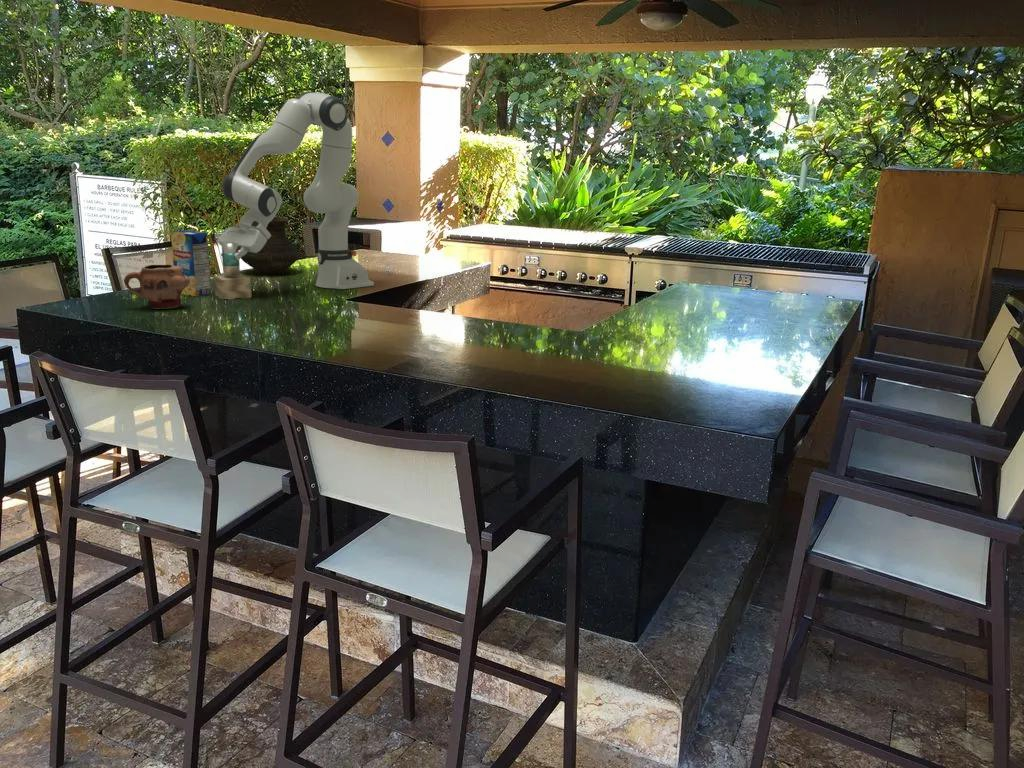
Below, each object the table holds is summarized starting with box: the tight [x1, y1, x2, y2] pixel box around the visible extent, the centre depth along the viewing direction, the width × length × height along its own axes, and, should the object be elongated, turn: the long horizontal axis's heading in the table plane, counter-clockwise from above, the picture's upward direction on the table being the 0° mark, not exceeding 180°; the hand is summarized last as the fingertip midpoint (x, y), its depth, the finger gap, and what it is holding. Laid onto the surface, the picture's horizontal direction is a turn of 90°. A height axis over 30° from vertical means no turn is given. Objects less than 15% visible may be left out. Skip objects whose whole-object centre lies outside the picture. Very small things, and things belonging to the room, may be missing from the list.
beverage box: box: [170, 229, 212, 297], centre depth 305 cm, size 7×11×22 cm, turn 59°
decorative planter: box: [123, 264, 190, 310], centre depth 281 cm, size 20×12×14 cm, turn 117°
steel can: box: [221, 242, 241, 276], centre depth 302 cm, size 6×6×11 cm
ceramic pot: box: [240, 216, 301, 275], centre depth 355 cm, size 24×24×22 cm
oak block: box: [213, 273, 252, 301], centre depth 304 cm, size 10×10×7 cm
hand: (229, 257), depth 301 cm, fingers closed on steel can, 6 cm apart
